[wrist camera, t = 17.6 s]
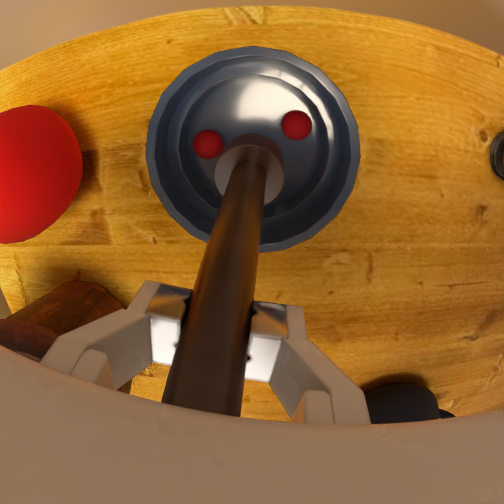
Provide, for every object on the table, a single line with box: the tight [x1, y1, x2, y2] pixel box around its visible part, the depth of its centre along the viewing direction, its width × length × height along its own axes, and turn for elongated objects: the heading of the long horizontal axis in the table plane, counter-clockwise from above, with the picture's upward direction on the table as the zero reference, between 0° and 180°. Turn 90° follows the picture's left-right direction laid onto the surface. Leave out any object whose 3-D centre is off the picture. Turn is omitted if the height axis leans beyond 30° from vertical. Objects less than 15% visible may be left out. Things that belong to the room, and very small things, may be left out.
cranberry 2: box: [281, 110, 312, 140], centre depth 22 cm, size 2×2×2 cm
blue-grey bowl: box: [146, 46, 361, 253], centre depth 22 cm, size 14×14×6 cm
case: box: [0, 281, 132, 394], centre depth 26 cm, size 18×20×18 cm
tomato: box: [0, 105, 83, 244], centre depth 20 cm, size 12×12×13 cm
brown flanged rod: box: [161, 133, 285, 417], centre depth 11 cm, size 4×4×16 cm
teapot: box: [364, 383, 456, 424], centre depth 34 cm, size 25×16×12 cm, turn 93°
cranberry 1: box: [193, 130, 223, 159], centre depth 23 cm, size 2×2×2 cm
